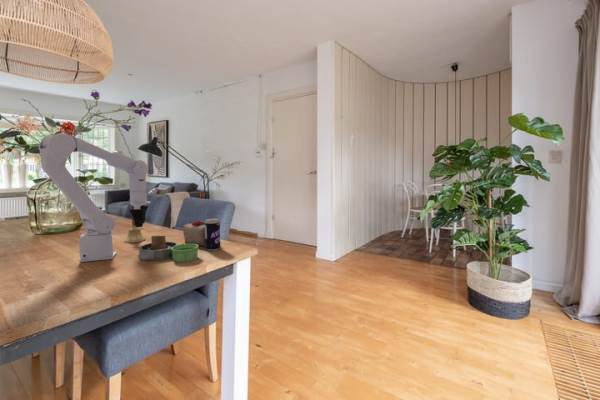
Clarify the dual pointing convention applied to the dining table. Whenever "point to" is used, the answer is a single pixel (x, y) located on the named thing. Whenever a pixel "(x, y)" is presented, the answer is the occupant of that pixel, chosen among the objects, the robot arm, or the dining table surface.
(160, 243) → the tan wooden block
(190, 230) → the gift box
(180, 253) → the ramekin
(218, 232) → the beverage can
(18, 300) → the dining table surface
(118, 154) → the robot arm
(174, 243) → the grey metal bowl
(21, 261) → the dining table surface
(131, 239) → the hand bell
